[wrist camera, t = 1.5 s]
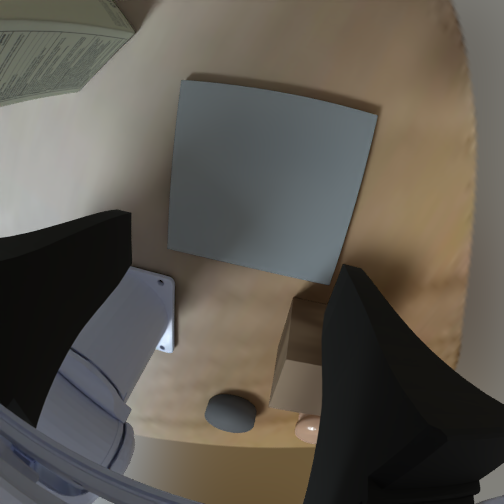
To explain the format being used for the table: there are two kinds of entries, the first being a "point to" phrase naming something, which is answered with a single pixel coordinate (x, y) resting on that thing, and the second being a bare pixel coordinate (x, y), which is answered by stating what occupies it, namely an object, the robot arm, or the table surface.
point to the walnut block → (300, 360)
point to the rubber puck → (230, 413)
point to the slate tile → (265, 178)
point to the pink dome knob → (307, 428)
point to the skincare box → (55, 45)
